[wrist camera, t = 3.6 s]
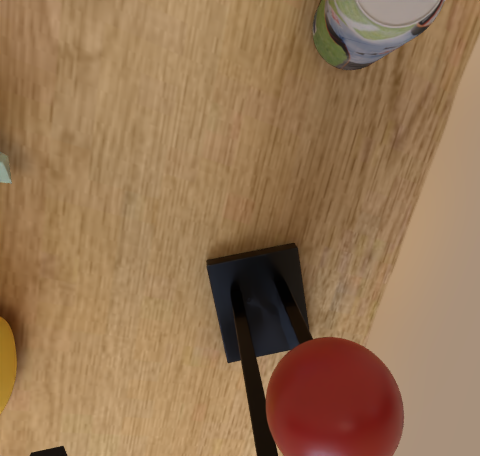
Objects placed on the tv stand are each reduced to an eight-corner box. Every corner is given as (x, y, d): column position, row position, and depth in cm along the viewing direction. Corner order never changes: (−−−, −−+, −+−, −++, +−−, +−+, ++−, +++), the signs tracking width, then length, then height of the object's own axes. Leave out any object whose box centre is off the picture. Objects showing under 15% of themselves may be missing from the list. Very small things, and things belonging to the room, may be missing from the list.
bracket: (206, 260, 38) (217, 462, 17) (294, 242, 38) (411, 420, 17) (226, 355, 41) (257, 624, 20) (308, 338, 41) (421, 586, 20)
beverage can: (359, 84, 34) (439, 80, 23) (280, 39, 33) (324, 10, 21) (401, 8, 33) (508, -37, 22) (320, -43, 31) (390, -122, 20)
